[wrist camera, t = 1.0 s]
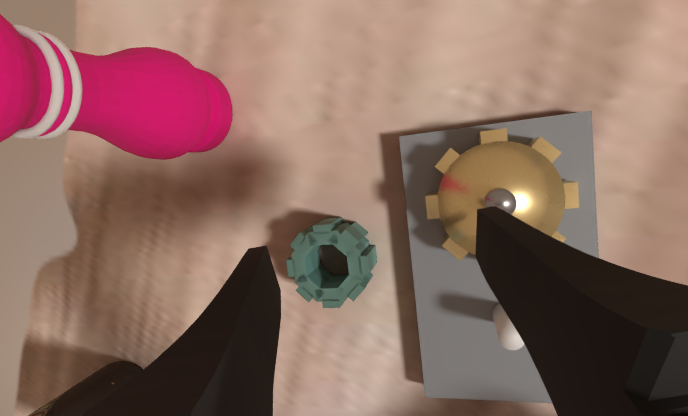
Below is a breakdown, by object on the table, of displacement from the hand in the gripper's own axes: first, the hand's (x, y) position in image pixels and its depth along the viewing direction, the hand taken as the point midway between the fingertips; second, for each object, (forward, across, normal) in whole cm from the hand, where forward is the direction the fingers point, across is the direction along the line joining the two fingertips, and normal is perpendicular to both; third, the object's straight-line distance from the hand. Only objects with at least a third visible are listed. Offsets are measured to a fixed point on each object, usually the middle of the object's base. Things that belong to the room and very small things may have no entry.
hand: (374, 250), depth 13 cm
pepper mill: (+21, +11, 0) cm, 23 cm away
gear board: (+9, -9, +10) cm, 16 cm away
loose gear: (+12, +2, +10) cm, 16 cm away
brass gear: (+10, -8, +5) cm, 14 cm away
